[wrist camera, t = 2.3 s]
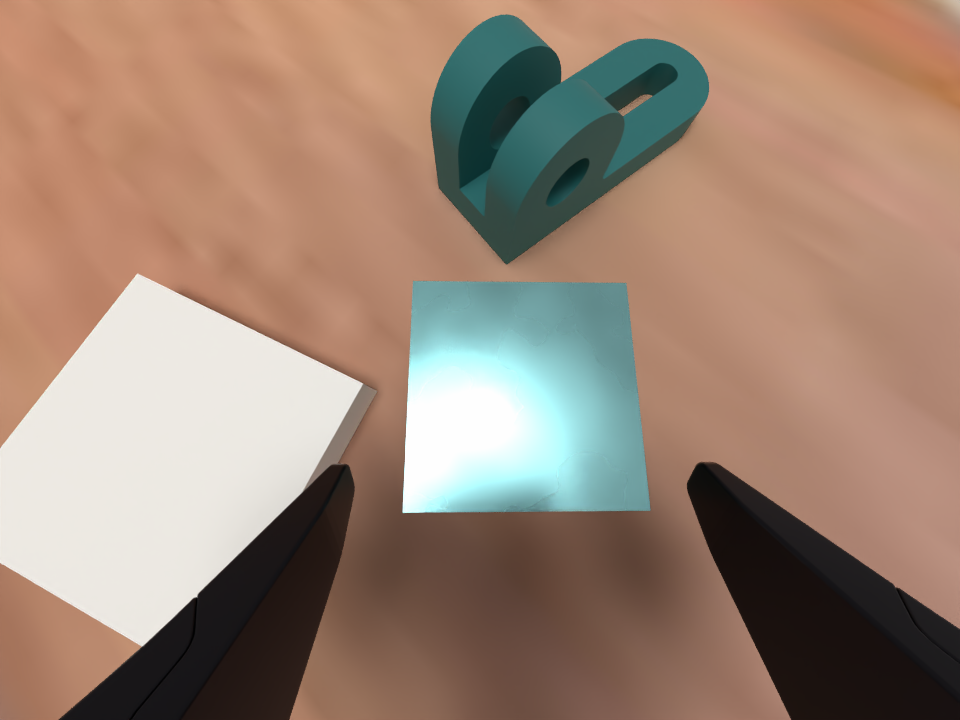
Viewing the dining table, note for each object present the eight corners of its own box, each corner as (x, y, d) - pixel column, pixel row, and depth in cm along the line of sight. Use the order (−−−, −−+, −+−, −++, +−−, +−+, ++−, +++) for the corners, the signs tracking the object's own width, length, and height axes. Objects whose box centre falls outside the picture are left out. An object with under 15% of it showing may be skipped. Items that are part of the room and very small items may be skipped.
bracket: (506, 266, 21) (526, 166, 13) (439, 190, 22) (421, 56, 14) (707, 120, 24) (818, -31, 16) (639, 59, 25) (713, -109, 17)
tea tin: (554, 473, 18) (650, 510, 8) (439, 473, 18) (403, 512, 8) (548, 361, 20) (626, 283, 10) (442, 361, 19) (413, 280, 10)
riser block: (245, 637, 17) (196, 678, 14) (27, 512, 18) (-62, 526, 15) (379, 392, 19) (363, 383, 16) (185, 297, 20) (137, 273, 17)
